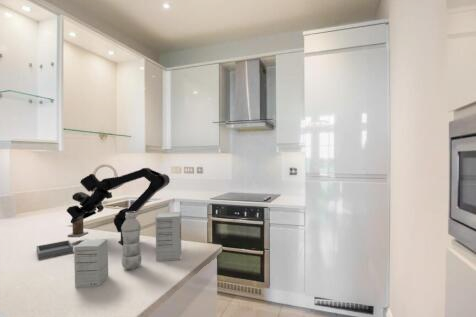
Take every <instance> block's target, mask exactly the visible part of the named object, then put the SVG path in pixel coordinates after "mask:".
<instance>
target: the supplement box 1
mask: <svg viewBox="0 0 476 317" xmlns="http://www.w3.org/2000/svg"><path fill="white" fill-rule="evenodd" d="M73 253H74V254H73V255H74V261H73V262H74V287H75V288H89V287H90V288H91V287H99V286H100V285H101V284H102V283H103V282H104V281H105V280H106V279H107V277H108V276H109V238H94V239H93V238H91V239H87V238H86V239H84V240H83V241H82V242H80V243H78V244H76V245H75V246H73Z"/></svg>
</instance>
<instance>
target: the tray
mask: <svg viewBox="0 0 476 317" xmlns="http://www.w3.org/2000/svg"><path fill="white" fill-rule="evenodd" d="M71 253H74V245H73V244H72V242H71V241H70V240H69V239H68V240H63V241H62V240H61V241H57V242H52V243H47V244H42V245H36V254H37V259H38V260H43V259H48V258H53V257H58V256H62V255H66V254H71Z"/></svg>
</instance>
